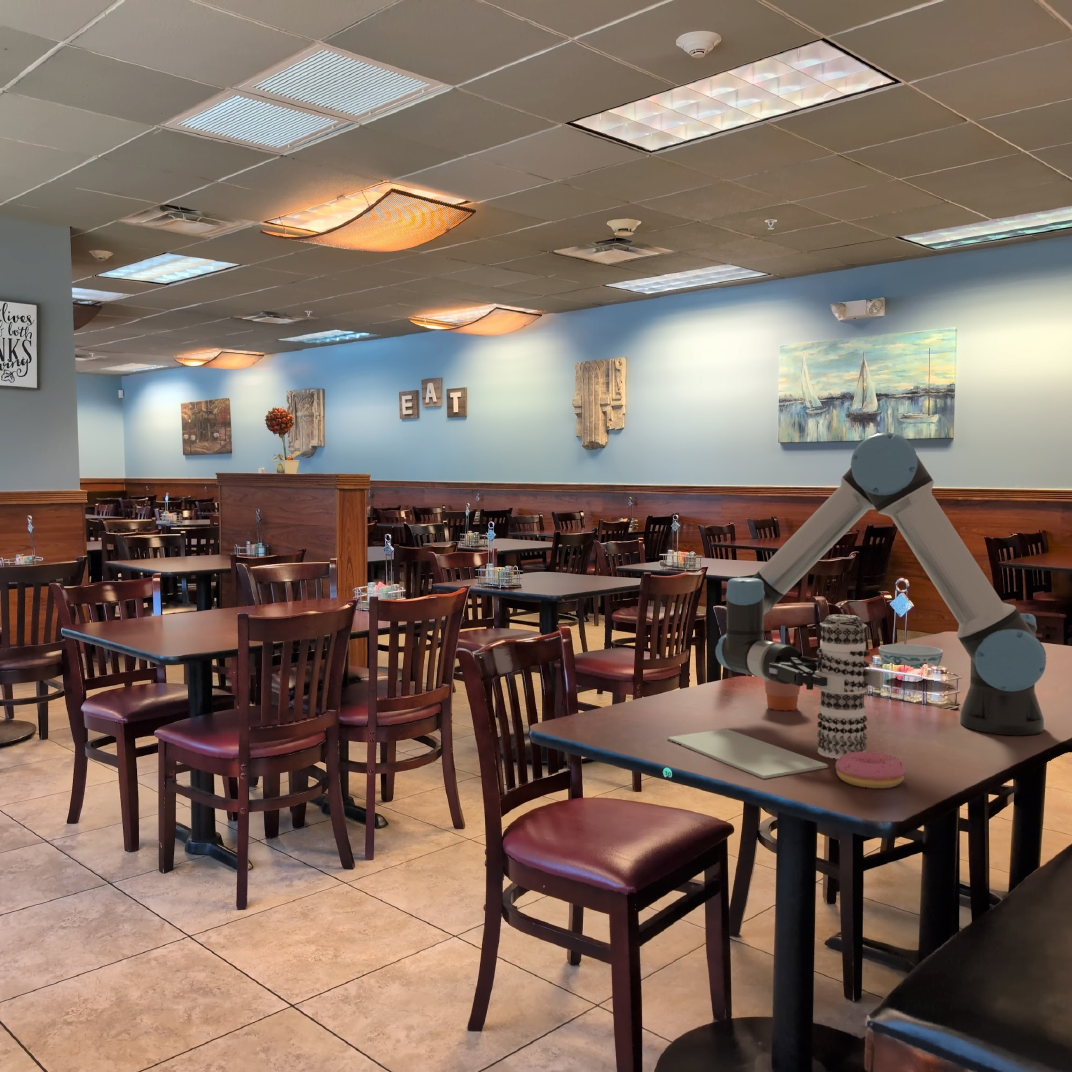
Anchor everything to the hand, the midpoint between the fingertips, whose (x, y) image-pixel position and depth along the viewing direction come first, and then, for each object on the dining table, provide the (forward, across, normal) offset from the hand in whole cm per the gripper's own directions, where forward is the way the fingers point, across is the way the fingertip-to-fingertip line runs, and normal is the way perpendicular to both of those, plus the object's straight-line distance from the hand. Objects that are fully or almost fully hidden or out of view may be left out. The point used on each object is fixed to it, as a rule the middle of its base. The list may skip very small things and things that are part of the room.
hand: (862, 682), depth 171 cm
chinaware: (-47, -64, -14) cm, 80 cm away
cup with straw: (-38, -15, -14) cm, 43 cm away
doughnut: (+9, +8, -14) cm, 19 cm away
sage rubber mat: (-13, +16, -14) cm, 25 cm away
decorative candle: (-5, 0, -14) cm, 15 cm away
